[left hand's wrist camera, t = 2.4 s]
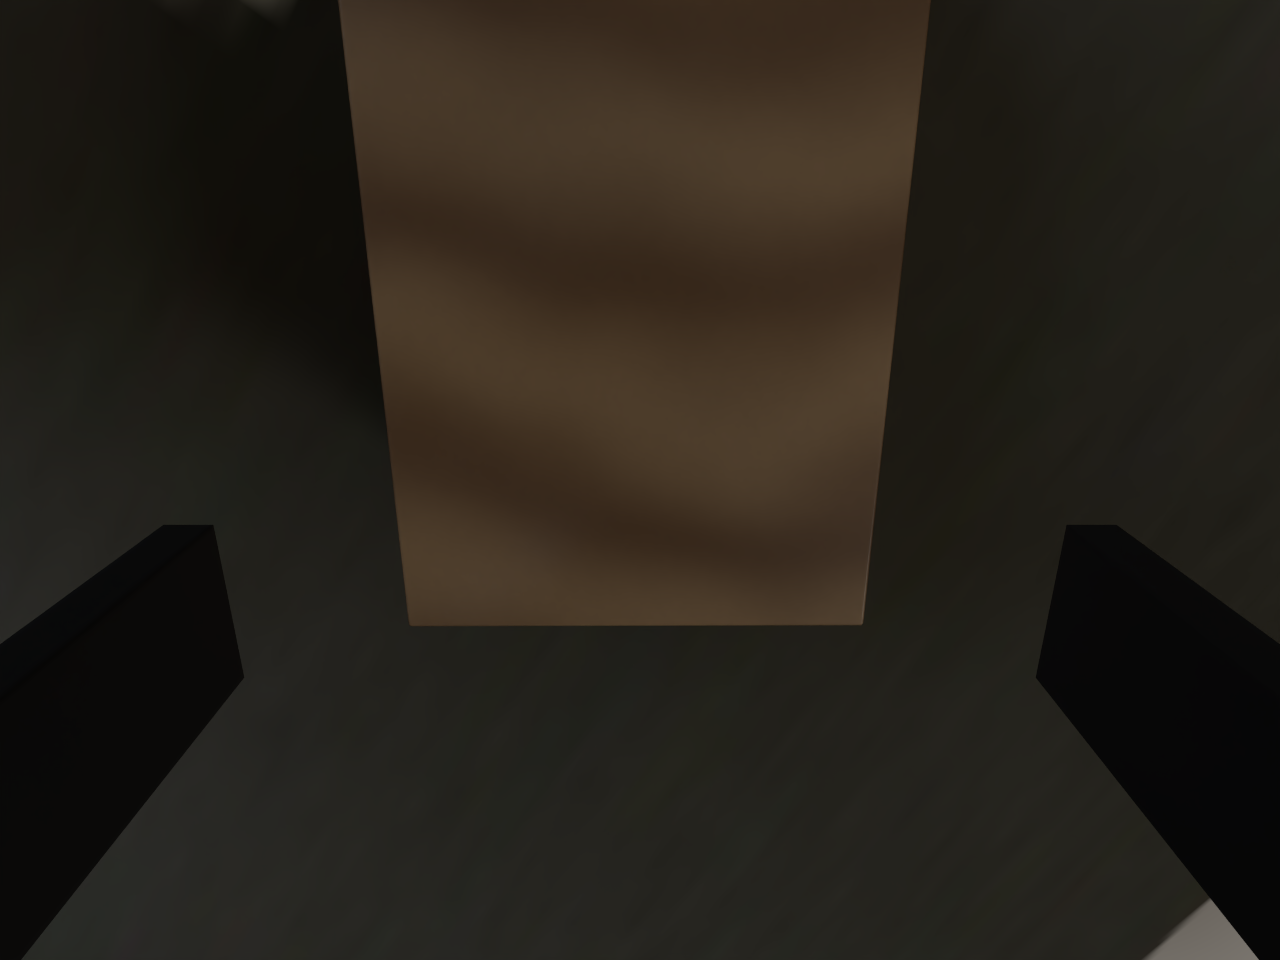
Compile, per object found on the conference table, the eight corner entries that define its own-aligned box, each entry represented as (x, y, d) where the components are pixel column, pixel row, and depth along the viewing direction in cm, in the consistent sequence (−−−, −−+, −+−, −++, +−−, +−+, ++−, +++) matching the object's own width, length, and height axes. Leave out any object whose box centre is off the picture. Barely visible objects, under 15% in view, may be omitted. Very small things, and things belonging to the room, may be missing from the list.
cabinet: (429, -114, 22) (303, -295, 14) (840, -114, 22) (964, -294, 14) (475, 495, 28) (408, 627, 20) (796, 494, 28) (864, 626, 20)
